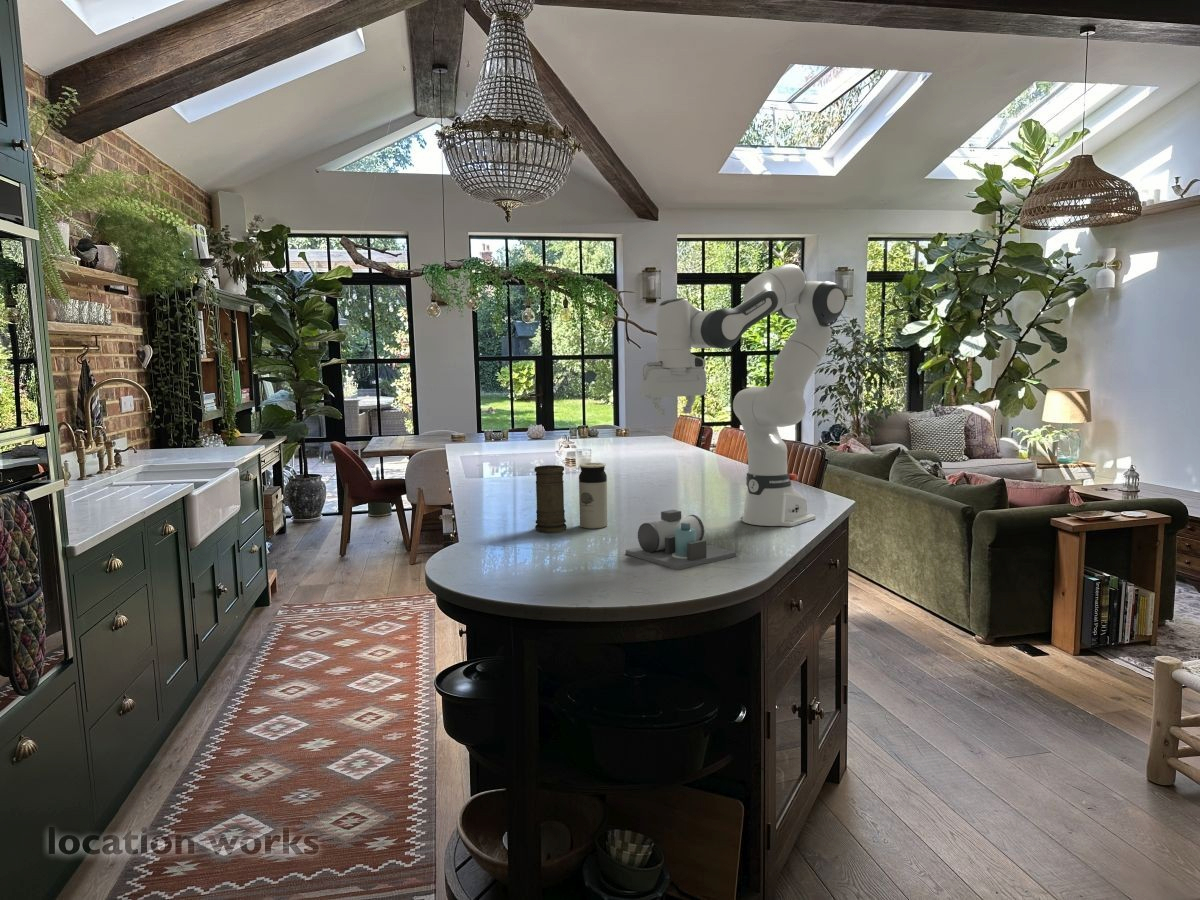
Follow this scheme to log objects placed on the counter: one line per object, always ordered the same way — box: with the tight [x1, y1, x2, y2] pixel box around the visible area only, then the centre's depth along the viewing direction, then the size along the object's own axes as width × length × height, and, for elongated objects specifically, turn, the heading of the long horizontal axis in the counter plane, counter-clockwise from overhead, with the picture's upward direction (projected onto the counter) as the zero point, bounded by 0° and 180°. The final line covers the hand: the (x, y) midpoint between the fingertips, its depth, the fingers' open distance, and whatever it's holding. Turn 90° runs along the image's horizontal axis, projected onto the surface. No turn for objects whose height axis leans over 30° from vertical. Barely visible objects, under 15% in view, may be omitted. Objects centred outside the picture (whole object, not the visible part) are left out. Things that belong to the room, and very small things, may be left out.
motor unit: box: [625, 509, 737, 570], centre depth 191 cm, size 19×19×10 cm
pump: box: [675, 523, 696, 557], centre depth 187 cm, size 5×5×8 cm
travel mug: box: [578, 462, 609, 530], centre depth 226 cm, size 8×8×18 cm
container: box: [534, 464, 568, 534], centre depth 222 cm, size 9×9×18 cm
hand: (674, 414), depth 207 cm, fingers open, 8 cm apart
